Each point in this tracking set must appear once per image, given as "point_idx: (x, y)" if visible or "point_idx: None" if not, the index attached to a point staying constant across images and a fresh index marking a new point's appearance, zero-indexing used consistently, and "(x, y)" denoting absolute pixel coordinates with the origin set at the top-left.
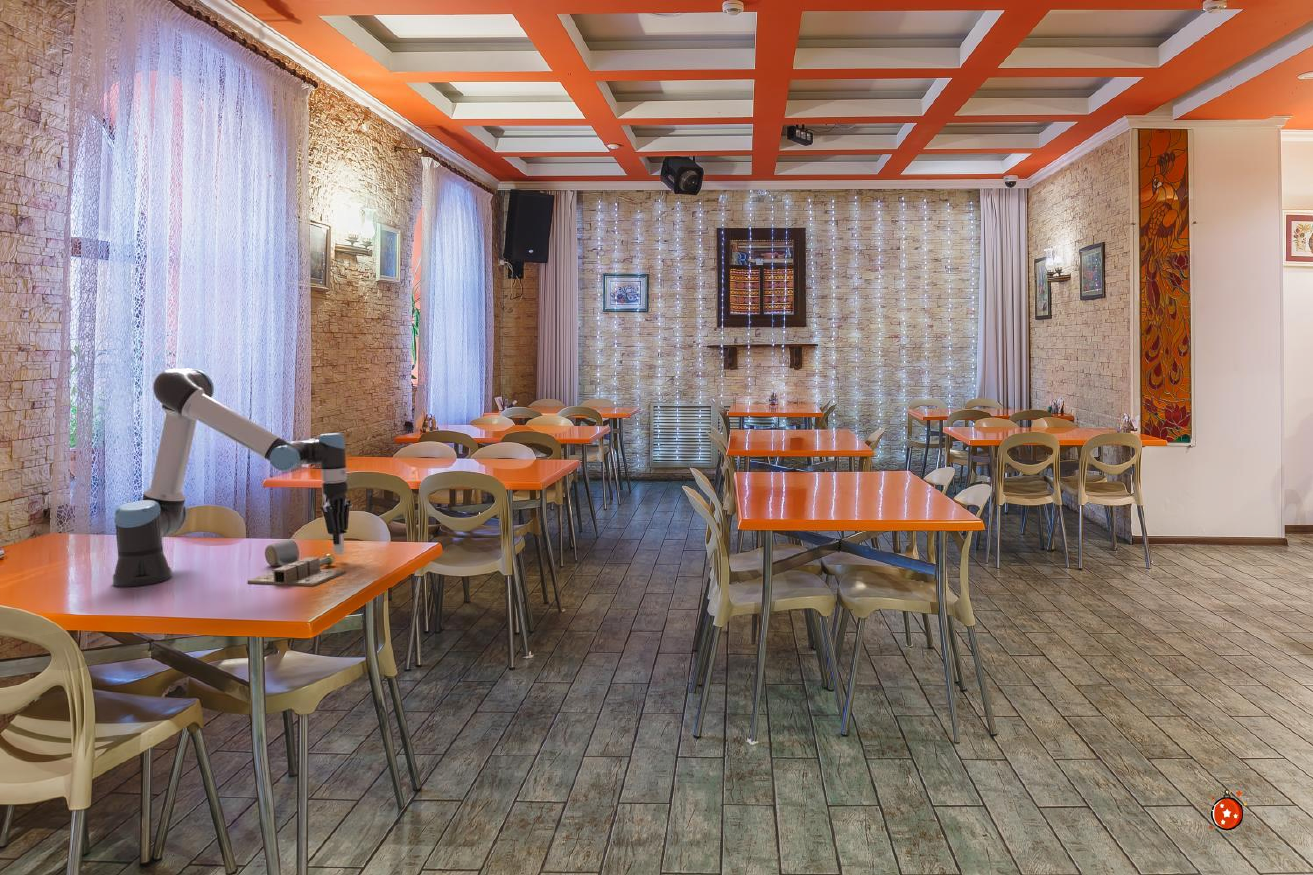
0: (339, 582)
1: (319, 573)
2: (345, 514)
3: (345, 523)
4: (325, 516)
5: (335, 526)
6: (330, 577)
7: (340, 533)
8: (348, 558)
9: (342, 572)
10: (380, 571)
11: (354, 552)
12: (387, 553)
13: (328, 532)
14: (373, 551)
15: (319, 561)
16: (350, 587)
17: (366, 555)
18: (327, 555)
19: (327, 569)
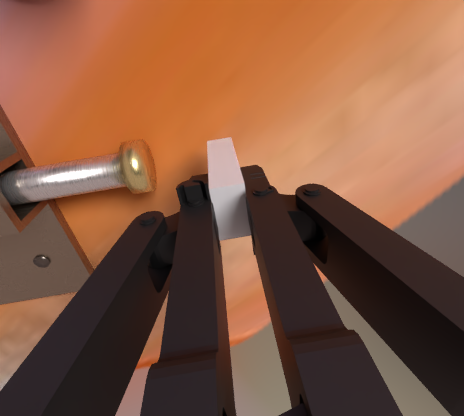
0: (15, 332)
1: (6, 250)
2: (380, 326)
3: (319, 263)
4: (22, 389)
5: (163, 298)
6: (13, 299)
7: (248, 217)
8: (281, 138)
9: (79, 288)
10: (161, 337)
11: (404, 69)
12: (379, 220)
13: (136, 224)
14: (418, 146)
15: (51, 197)
16: (7, 373)
17: (343, 171)
18: (125, 177)
19: (63, 233)
